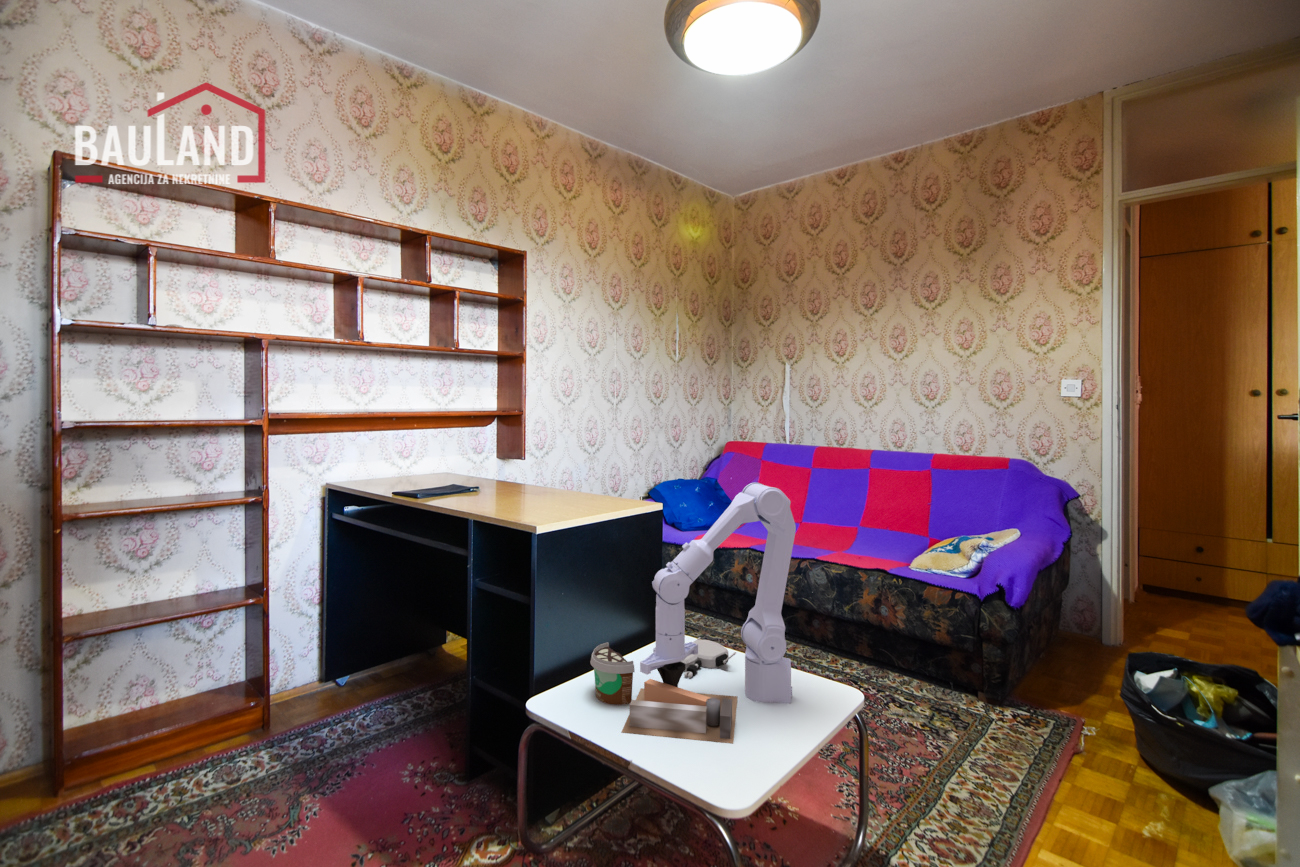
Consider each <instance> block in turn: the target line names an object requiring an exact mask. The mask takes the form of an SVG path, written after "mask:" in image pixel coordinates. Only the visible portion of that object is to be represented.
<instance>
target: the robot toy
mask: <svg viewBox="0 0 1300 867" xmlns="http://www.w3.org/2000/svg"><path fill="white" fill-rule="evenodd" d="M701 638H702V637H700V636H699V637H698V638H697V639H695V640H694V641H692V642H693V643H696V644H698V654H696V655H694V654H691V655H689V656H687V657H686V658H685V659H684V660H682V661H680V662H683V663H685V664H686V669H685V670H684V672H683V674H684V677H686V678H692V677H695V676H696V674H697V673H698V669H700V668H707V669H720V667H722V666H724V665H726V664H728V662H729V660H730V659H732V658H733V657H734V656H735V655H736V654H737V652H733V653H732V654H730V655H729V650H728V648H726V647H725V646H724V645H722V644H720V643H718V642H716V641H713V640H708V639H701Z"/></svg>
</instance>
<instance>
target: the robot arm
mask: <svg viewBox="0 0 1300 867" xmlns="http://www.w3.org/2000/svg"><path fill="white" fill-rule="evenodd" d="M754 522H761V524H762V525H763V527H764V528H765V529H766V530H767V536H766V541H765V542H766V543H765V547H764V554H763V559H762V564H761V569H760V576H759V579H758V580H759V581H758V587H757V593H756V599H755V602H754V603H755V605H754V606H753V607H751V609H750V610H749V611H748V616H747V618H746V621H745V622H744V623H743V624H742V627H741V629H740V637H741V640H742V642H743V643H744V644H745V645H746V648H745V653H744V694H745V697H746V698H747V699H749V700H750V701H753V702H757V703H763V704H764V703H765V704H767V703H778V704H780V703H781V704H792V697H793V686H792V661H791V658H789V657H784V656H785V654H786V651H787V641H786V640H787V639H786V637H785V636H786V635H785V632H786V625H785V622H784V618H783V616H782V610H783V604H784V598H785V593H786V586H787V582H788V576H789V570H790V563H791V559H792V553H793V549H794V542H795V538H796V537H795V536H796V531H797V530H796V529H797V527H796V522H795V519H794V515H793V512H792V509H791V500H790V498H788V496H787V495H786V494H785V493H784V492H783V491H782V490H781V489H780V488H778V487H773V486H769V485H766V484H765V485H764V484H763V483H760V482H757V481H756V482H751V483H748V484H747V485H746V486H744V488H743V489H742V491H741V492H738V494H736V495H735V497H734V498H733V500H732V501H731V503H730V504H729V506H728V507H727V508H726V509H725V510H724V511H723V513H722V514H721V515H720V516H719V517H718V519H717V520H716V521H715V522H714V523H713V524H712V525H711V526H710V528H709V529H708V530H707V531H706V533H705V534H704V535H703V536H702V538H700V539H692V540H690V542H685V543H683V544H682V546H681V548H682V550H681V551H680V552H679V554H677V555H676V556H675V558H674V559H673V560H672V561H668V562H667V563H666V564H665V566H666V567H664V568H661V569H660V570H658V571H657V572H656V573H655V575H654V579H653V581H651V584H652V588H653V590H654V591H655V593H656V595H655V602H656V603H655V647H653V649H652V651H653V652H652V653H651V654H650V655H649V656H648V657H646V658H645V659H643V660H641V661H640V662H639V666H640V667H639V668H640V669H639V671H640V672H641V673H643V674H645V675H650V674H652V672H653V671H654V670H657V671H658V674H659V675H660V678H661V679H662V680H661V681H662V683H665V684H669V685H672V686H675V687H678V688H679V682H680V680H681V678H682V676H683V674H684V673H685V672H684V670H685V669H686V664H685V663H683V662H680V661H682V660H684V659H685V658H686V657H687V656H689V655H691V654H694V655H696V654H698V644H696V643H693V642H694V641H690V642H686V643H685V641H686V640H685V637H686V635H685V630H686V629H685V628H686V626H685V625H686V624H685V623H686V622H685V621H686V620H685V618H686V617H685V616H686V615H685V614H686V613H685V612H686V610H685V608H686V607H685V599H686V598H687V597H688V595H689V593H690V586H691V585H692V584H693V583H694V582H695V581H696V579H698V577H699V576H700V575H701V574H702V573H703V572H704V571H705V570H706V569H707V568H708V567H709V565H711V563H712V562H713V561H714V551H715V550H716V549H717V548H718V547H720V545H721V544H722V543H723V542H724V541H726V540H727V538H729V537H730V536H731V535H732V534H733V533H734V532H735V531H736V530H737V529H738V528H739V527H740V526H741V525H743V524H748V523H754Z"/></svg>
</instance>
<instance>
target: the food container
mask: <svg viewBox="0 0 1300 867" xmlns="http://www.w3.org/2000/svg"><path fill="white" fill-rule="evenodd" d="M589 662H590V665H591V666H592V668H593V672H594V684H595V686H594V688H595V696H596V699H597V700H599V701H600V702H601V703H604V704H607V705H614V706H622V705H625V706H626V705H630V703H631V700H633V696H632V694H633V680H634V679H633V678H634V673H636V672H635V670H636V669H635V664H634V660H630V661H629V660H626V658H624V656H623V655H622V654H621V653H619V652H618V651H617V652H616V651H614V649H612V648H611V647H610V643H609V642H604V643H601V644H598V645H597V646H596V647H595V648H594V649H593V651H592V653H591V657H590V661H589Z"/></svg>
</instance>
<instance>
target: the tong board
mask: <svg viewBox="0 0 1300 867" xmlns="http://www.w3.org/2000/svg"><path fill="white" fill-rule="evenodd" d="M697 693H698V694H701V695H704V696H707V697H710V698H716V699H719V700H720V724H719V725H718V726H710V725H707V706H696V705H685V704H674V703H662V702H651V701H644V687H643V688H640V689H639V692H638V694H637V696H636V699H632V700H631V703H630V704H628V705H629V708H628V709H629V710H628V711H629V715H628V717H627V719H626V721H625V722H624V725H623V727H622V730H621V732H620V733H622V734H630V735H640V736H641V735H642V736H649V737H651V736H652V737H660V738H661V737H662V738H670V739H681V740H690V741H691V740H692V741H700V742H701V741H703V742H713V743H719V744H720V743H721V744H731V745H733V744H734V738H735V729H736V728H735V727H736V719H737V718H736V716H737V710H738V709H737V708H738V707H737V705H738V698H739V697H738V696H737V695H736V696H734V695H723V694H715V693H714V694H713V693H712V694H710V693H703V692H702V693H701V692H697Z"/></svg>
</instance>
